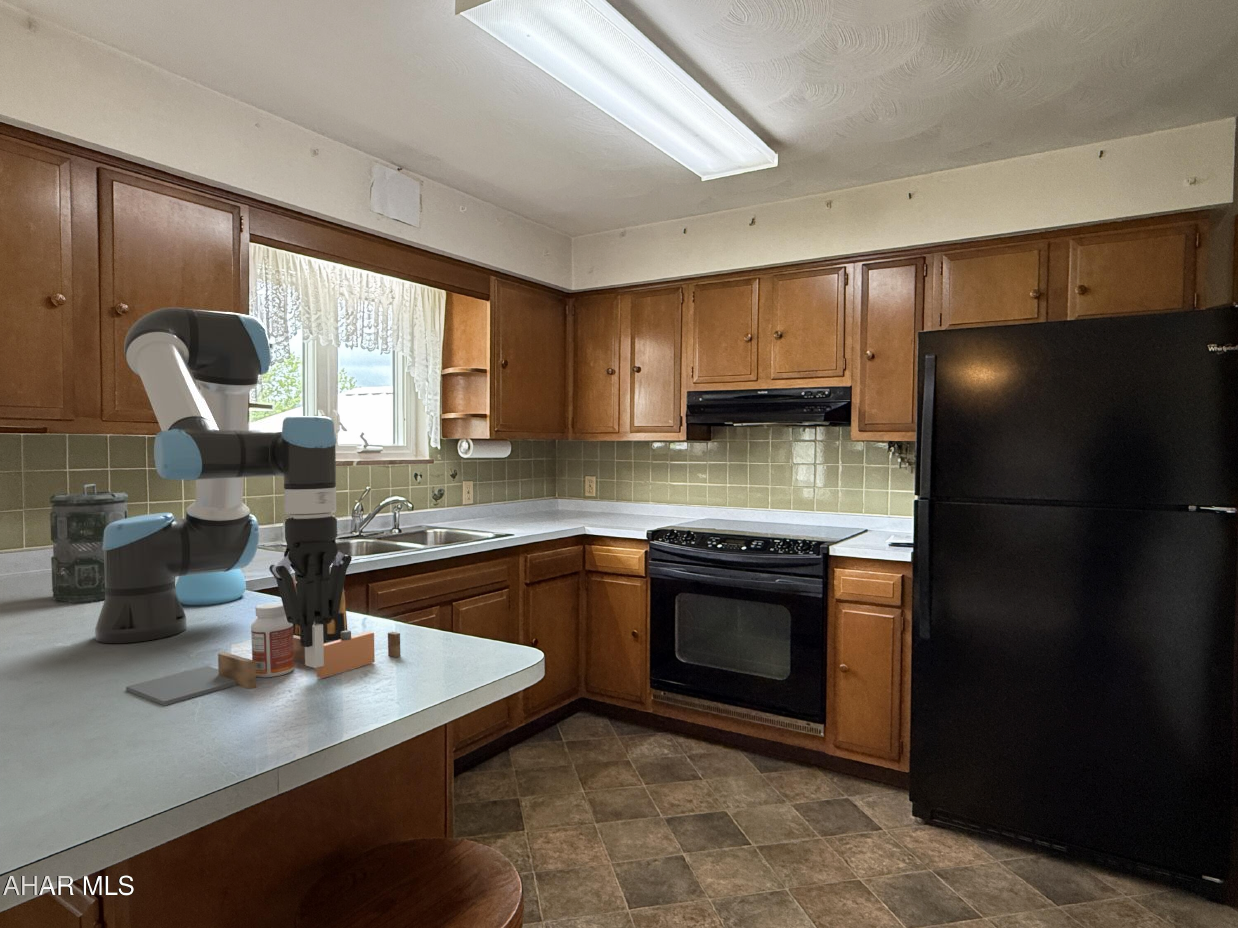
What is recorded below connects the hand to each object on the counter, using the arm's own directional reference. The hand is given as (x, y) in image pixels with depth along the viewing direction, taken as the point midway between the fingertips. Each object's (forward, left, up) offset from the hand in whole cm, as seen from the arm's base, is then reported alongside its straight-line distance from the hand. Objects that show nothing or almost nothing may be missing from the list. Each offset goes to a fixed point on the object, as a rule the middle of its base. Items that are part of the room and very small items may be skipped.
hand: (314, 665), depth 114 cm
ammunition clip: (-21, +15, -3) cm, 26 cm away
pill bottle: (-9, -1, -3) cm, 10 cm away
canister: (-105, +9, -3) cm, 106 cm away
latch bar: (0, +6, -2) cm, 6 cm away
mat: (-14, -12, -2) cm, 19 cm away
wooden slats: (-6, +4, -2) cm, 8 cm away
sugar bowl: (-76, +23, -3) cm, 80 cm away
